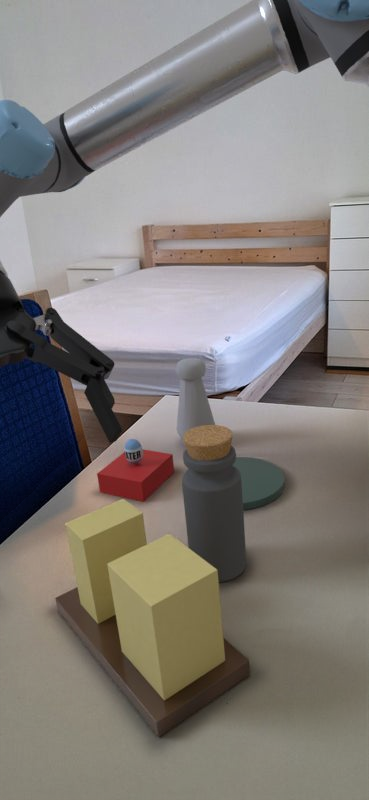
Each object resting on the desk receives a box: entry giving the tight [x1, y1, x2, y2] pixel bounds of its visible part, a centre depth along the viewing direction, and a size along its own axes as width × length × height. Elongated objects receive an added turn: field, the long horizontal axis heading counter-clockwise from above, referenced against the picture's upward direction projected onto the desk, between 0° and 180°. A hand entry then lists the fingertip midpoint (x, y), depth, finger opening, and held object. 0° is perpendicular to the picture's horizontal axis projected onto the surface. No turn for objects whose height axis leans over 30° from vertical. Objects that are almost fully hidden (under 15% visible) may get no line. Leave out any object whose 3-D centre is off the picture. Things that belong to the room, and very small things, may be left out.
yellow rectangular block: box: [65, 498, 148, 624], centre depth 55 cm, size 6×4×9 cm, turn 126°
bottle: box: [181, 424, 247, 583], centre depth 60 cm, size 6×6×15 cm
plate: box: [233, 456, 286, 511], centre depth 77 cm, size 12×12×1 cm
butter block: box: [107, 533, 225, 700], centre depth 48 cm, size 6×6×9 cm
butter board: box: [54, 586, 251, 738], centre depth 53 cm, size 9×18×2 cm, turn 36°
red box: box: [96, 438, 175, 503], centre depth 79 cm, size 8×7×6 cm
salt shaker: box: [175, 357, 216, 445], centre depth 88 cm, size 6×6×13 cm
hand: (56, 458), depth 59 cm, fingers open, 13 cm apart
